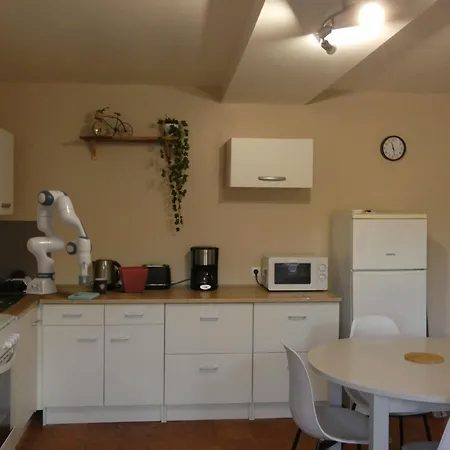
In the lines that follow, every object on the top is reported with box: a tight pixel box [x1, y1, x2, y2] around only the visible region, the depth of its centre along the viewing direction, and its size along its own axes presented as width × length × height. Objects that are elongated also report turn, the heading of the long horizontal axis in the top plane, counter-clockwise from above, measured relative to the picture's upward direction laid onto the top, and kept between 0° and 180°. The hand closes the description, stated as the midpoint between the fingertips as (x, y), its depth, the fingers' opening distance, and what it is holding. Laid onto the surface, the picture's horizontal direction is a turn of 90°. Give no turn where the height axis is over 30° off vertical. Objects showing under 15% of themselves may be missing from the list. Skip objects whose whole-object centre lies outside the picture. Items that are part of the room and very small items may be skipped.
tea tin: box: [77, 273, 91, 287], centre depth 374 cm, size 5×5×7 cm
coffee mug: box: [89, 277, 109, 295], centre depth 391 cm, size 12×9×10 cm
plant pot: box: [117, 265, 149, 294], centre depth 400 cm, size 19×19×17 cm
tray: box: [67, 291, 100, 301], centre depth 374 cm, size 15×17×2 cm
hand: (84, 281), depth 374 cm, fingers closed on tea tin, 7 cm apart
